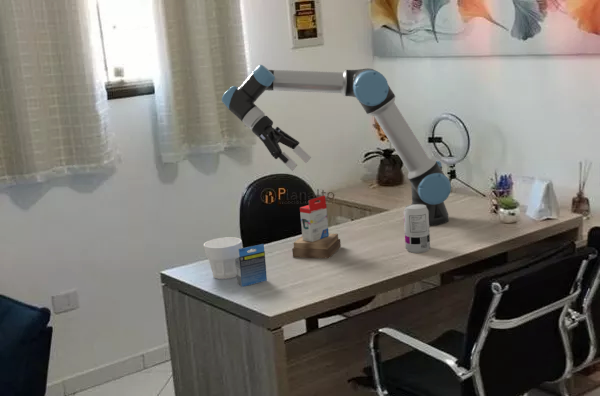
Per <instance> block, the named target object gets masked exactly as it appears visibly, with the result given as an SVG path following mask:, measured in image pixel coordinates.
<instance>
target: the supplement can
mask: <svg viewBox="0 0 600 396" xmlns="http://www.w3.org/2000/svg"><path fill="white" fill-rule="evenodd" d="M411 204H412V203H411ZM411 204H408V205H406V206H404V207H405V208H404V209H403V224H404V226H403V228H404V242H405V244H404V245H405V246H404V248H405V249H406V250H407V252H409V253H414V254H417V253H425V252H428V251H429V249H430V248H431V237H430V226H429V213H428V209H427V207H426V205H423V204H412V205H411Z"/></svg>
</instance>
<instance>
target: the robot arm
mask: <svg viewBox="0 0 600 396" xmlns="http://www.w3.org/2000/svg"><path fill="white" fill-rule="evenodd" d="M265 91H273V92H274V91H277V92H278V91H279V92H300V93H304V92H306V93H325V94H326V93H327V94H341V95H343V96H344V97H353V98H356V99H357V101H358V102H359V103H360V105H361V107H362V108H363V110H364V112H366V114H367V115H368V116H372V117H373V118H374V119H375V121H376V122H377V123H378V125H379V127H380V128H381V130H382V131H383V134H384V135H385V136H386V138H387V139H388V141H389V143H390V144H391V146H392V147H393V148H394V150H395V152H396V155H398V156H399V158H400V160H401V162H402V163H403V165H404V166H405V168H406V169H407V171H408V174H407V178H408V181H409V182H410V184H411V185H410V187H411V204H410V205H412V204H423V205H426V207H427V209H428V213H429V227H430V226H437V225H442V224H445V223H447V222H449V220H450V219H449V213H448V210H447V207H446V204H445V201H446V200H447V199H448V198H449V197H450V194H451V192H452V191H451V190H452V184H451V181H450V179H449V177H448V176H446V175H445V173H444V171H443V165H442V162H441V161H439V160H436V159H434V158H430V156H429V155H428V154H427V153H426V151H425V149H424V148H423V146H422V145H421V143H420V142H419V140H418V138H417V136H416V134H415V133H414V132H413V130H412V129H411V127H410V126H409V124H408V122H407V121H406V119H405V118H404V116H403V115H402V112H401V111H400V110H399V108H398V106H397V105H396V103H395V100H396V95H395V93H394V92H393V90H392V88H391V87H390V85H389V83H388V80H387V78H386V77H385V75H383V74H382V73H381V72H379V71H378V70H376V69H373V68H360V69H345V70H343V71H318V70H317V71H314V70H288V69H286V70H285V69H268V68H267V67H266V66H264V65H263V64H258V66H256V68H254V69H253V70H252V71H251V72H250V74H249V76H247V77H246V79H245V80H244V81H243V82H242V84H241V85H240V86H239V87H238V86H236V85H233V86H231V87H229V88H228V89H227V90H226V91H225V92H224V93H223V95H222V97H221V102H222V103H223V104H224V105H225V106H226V107H227V108H228V110H229V111H230V112H231V113H232V114H234V116H235V117H236V118H238V119H239V120H240V121H241V122H242V123H243V124H244V126H245V127H247V128H249V130H251V131H252V133H253V134H254V135H255V136H256V137H258V138H259V139H260V141H262V143H263V144H264V146H265V148H266V149H267V151H268V152H269V153H270V155H271V156H272V158H274V159H275V160H278V159H279V160H280V161H281V162H283V164H284V165H285V166H286V167H287V168H289V170H290V171H292V172H293V171H294V170H295V169H296V167H298V164H297V163H296V162H295V161H294V160H293V159H292V158H291V157H290V156H289V155H288V154H287V153H286V152H285V151H284V152H283V151H282V149H281V146H280V144H282V145H284V146H286V147H288V148H289V149H291V150H292V151H293V153H295V155H297V156H298V158H299V159H301V160H302V161H303V162H304V163H305V164H307V163H308V162H309V161H310V159H311V158H312V157H311V155H310V154H308V153H307V152H306V151H305V150H304V149H303V148H302V147H301V146H300V141H299V140H297V139H295V138H294V137H292V136H291V135H290V134H288V133H287V132H285V131H283V130H282V129H281V128H280V127H279V126H276V127H275V128H274V127H273V124H274V121H273V120H272V119H271V118H270V117H269V116H268V115H266V113H265V112H263V110H261V109H260V108H259V106H257V105H256V104H255V102H256V101H257V100H258V99H259V98H260V97H261V96H262V94H263V93H264V92H265ZM279 143H280V144H279Z"/></svg>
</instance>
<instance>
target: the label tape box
mask: <svg viewBox="0 0 600 396" xmlns="http://www.w3.org/2000/svg"><path fill="white" fill-rule="evenodd" d="M238 250H239V257H238V258H236V259H235V265H236V283H237V285H239V286H240V287H242V288H243V287H247V286H251V285H254V284H258V283H259V284H260V283H263V282H267V280H268V278H267V276H268V275H267V265H266V263H267V262H266V252H265V251H266V250H265V244H264V243H261V244H256V245H251V246H247V247H242V248H241V249H238ZM251 250H253V251H251ZM254 250H255V251H254ZM250 251H251V252H250Z"/></svg>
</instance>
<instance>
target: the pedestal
mask: <svg viewBox="0 0 600 396" xmlns="http://www.w3.org/2000/svg"><path fill="white" fill-rule="evenodd" d="M341 244H342V243H341V238H339V234H338V233H329V236H328V237H325V238H322V239H319V240H317V241H314V242H310V241H304V240H303V238H302V236H300V237H299V238H298V239H297V240H295V241H294V242H293V248H292V249H291V251H292V258H307V259H330V258H331V257H332V256H333V255H334V254H336V252H337V251H338V250H340V249H341V247H342V245H341Z"/></svg>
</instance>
